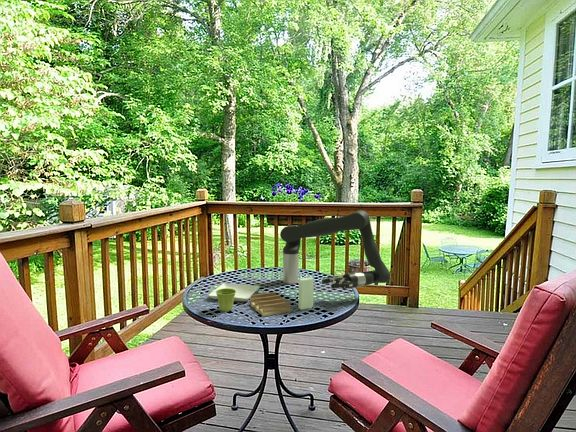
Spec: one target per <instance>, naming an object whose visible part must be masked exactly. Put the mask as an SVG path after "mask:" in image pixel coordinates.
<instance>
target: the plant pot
mask: <svg viewBox="0 0 576 432" xmlns="http://www.w3.org/2000/svg"><path fill="white" fill-rule="evenodd" d="M235 293H236V290H234V289H230V288H224V289H219V290H217V291H216V294H217V296H218V299H217V302H218V303H217V304H218V308H219V309H218V310H219V311H220V312H229V311H232V310H233V307H234V302H235V301H234V296H235Z"/></svg>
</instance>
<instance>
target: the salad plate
mask: <svg viewBox="0 0 576 432" xmlns="http://www.w3.org/2000/svg"><path fill="white" fill-rule="evenodd" d="M224 288H230V289H234V290H236V293H235V296H234V302H247V301H249V300H250V299H251V295H255V293H256V292H257V291H258V290H259V288H260V285H254V284H245V283H243V284H241V283H227V282H223V283H222V284H220V285H219V286H217V288H216V289H214V290H213V291H212V292H210V293H209V294H208V297H209V298H211V299H213V300H218V296H217V294H216V291H217V290H219V289H224Z"/></svg>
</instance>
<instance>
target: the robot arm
mask: <svg viewBox="0 0 576 432" xmlns="http://www.w3.org/2000/svg"><path fill="white" fill-rule="evenodd" d="M353 230H358V231H359V232H360V235H361V239H362V246H363V250H364V251H363V252H364V255H365V257H366V261H367V264H368V266H370V267H371V268H373V269H372V270H366V271H355V272H346V273H344V274H343V276H338V275H331V276H327V278H322V279H321V284H323V285H326V284H331V285H330V288H331V289H333V290H334V289H341V290H347V289H354V288H361V287H365V286H370V285H372V284H373V285H374V284H385V283H388V282H389V281H390V279H391V274H390V271H389V269H388V267H387V266H386V264H385V262H383V260H382V258H381V255H380V252H379V249H378V247H377V244H376V241H375V237H374V233H373V229H372V224H371V219H370V215H369V214H368V212H366V211H365V210H363V209H359V210H356V211H354V212H352V213H350V214H348V215H344V216H340V217H325V218H324V217H323V218H319V219H316V220H312V221H309V222H306V223H303V224H299V225H296V224H291V225H287V226H284V227H283V228H282V229H281V230H280V238H281V240H282V241H284V242H285V245H284V246H283V249H282V283H284V284H288V285H289V284H290V285H292V284H293V285H294V284H299V274H300V273H299V270H300V269H299V268H300V267H299V265H300V264H299V263H300V260H299V259H300V255H299V254H300V249H301V240H302V239H305V238H315V237H316V238H317V237H323V236H329V235H332V234H336V233H340V232H343V231H353Z"/></svg>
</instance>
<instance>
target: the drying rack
mask: <svg viewBox="0 0 576 432" xmlns="http://www.w3.org/2000/svg"><path fill="white" fill-rule="evenodd" d="M281 296H282V295H280V294H277V292H276V291H272V292H264V293H257V294H253V295H251V297H250V301H249V305H250V306H251V307H252V308H253V309H254V310H256V312H258V313H259V314H260V315H261V316H262V317H267V316H273V315H279V314H284V313H290V312H292V308H291V301H286V298H285V297H282V298H281Z"/></svg>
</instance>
